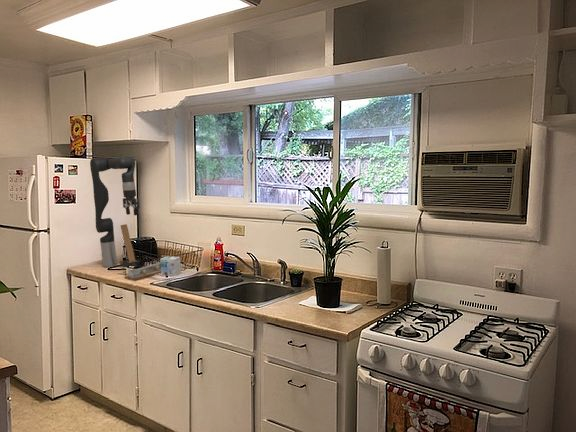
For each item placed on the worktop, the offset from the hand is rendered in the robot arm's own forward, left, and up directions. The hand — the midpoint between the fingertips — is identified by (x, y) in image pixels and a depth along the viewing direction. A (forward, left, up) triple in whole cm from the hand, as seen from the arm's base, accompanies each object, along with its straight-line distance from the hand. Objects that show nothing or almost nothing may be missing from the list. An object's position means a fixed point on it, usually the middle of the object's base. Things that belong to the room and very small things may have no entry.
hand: (132, 214), depth 300 cm
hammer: (-18, +7, -38) cm, 43 cm away
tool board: (+8, +2, -38) cm, 39 cm away
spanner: (+8, +2, -37) cm, 37 cm away
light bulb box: (+22, +9, -38) cm, 45 cm away
